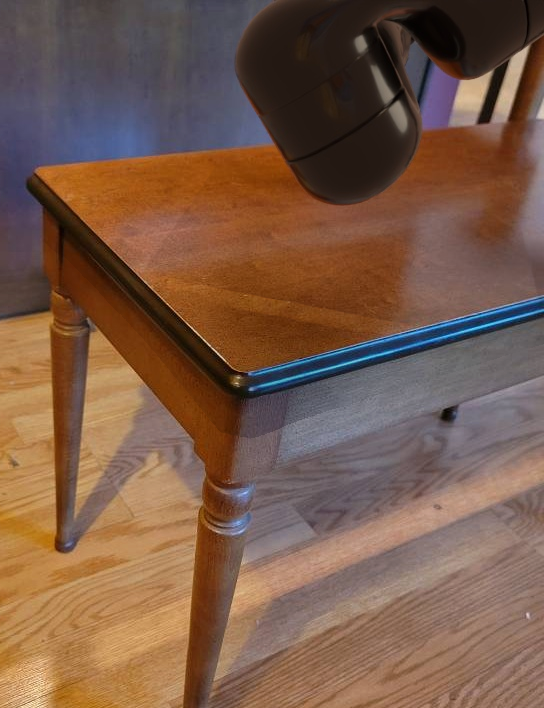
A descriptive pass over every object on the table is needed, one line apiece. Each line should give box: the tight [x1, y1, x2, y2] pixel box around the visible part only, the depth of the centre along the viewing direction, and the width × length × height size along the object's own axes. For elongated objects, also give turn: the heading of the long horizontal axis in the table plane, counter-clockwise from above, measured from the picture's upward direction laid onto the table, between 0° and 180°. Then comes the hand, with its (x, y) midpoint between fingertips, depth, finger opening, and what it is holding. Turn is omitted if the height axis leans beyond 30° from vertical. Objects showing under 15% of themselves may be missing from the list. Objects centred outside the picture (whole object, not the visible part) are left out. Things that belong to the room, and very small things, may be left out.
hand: (369, 2), depth 64 cm, fingers open, 8 cm apart
